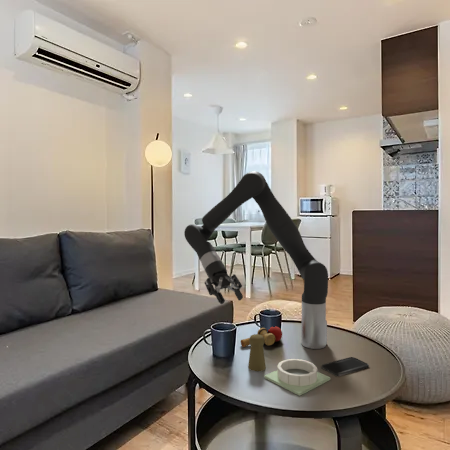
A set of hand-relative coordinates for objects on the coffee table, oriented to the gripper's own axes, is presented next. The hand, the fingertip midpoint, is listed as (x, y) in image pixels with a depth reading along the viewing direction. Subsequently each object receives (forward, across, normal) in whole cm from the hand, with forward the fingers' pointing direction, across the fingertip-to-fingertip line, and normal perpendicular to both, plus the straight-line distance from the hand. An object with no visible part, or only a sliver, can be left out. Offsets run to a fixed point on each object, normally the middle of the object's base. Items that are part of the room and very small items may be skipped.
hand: (232, 301), depth 129 cm
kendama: (+14, +17, +15) cm, 27 cm away
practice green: (+33, +4, -5) cm, 34 cm away
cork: (+23, 0, +5) cm, 24 cm away
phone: (+37, +23, -8) cm, 44 cm away
